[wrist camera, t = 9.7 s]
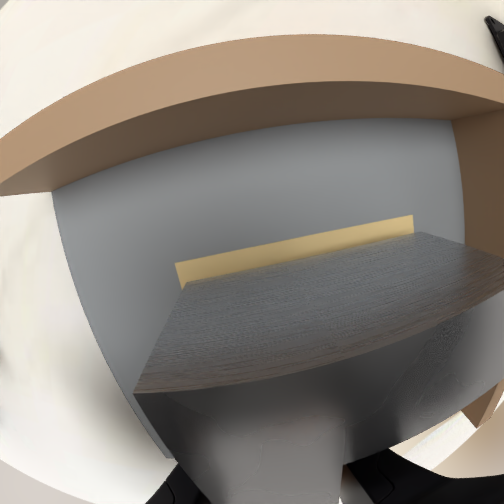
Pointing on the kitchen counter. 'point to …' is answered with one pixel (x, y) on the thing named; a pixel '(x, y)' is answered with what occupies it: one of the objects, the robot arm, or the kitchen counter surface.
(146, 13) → the kitchen counter surface
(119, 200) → the arena
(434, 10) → the kitchen counter surface
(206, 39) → the kitchen counter surface
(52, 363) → the kitchen counter surface
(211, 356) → the angle bracket
